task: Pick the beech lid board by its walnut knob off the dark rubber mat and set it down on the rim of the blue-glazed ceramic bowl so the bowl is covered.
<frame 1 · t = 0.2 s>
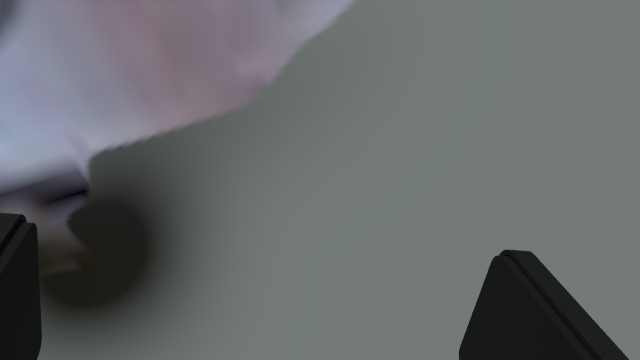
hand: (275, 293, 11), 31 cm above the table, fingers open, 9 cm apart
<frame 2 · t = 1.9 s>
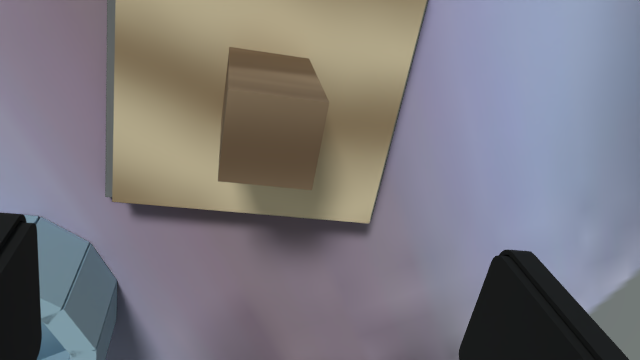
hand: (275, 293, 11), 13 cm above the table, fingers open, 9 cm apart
lid: (262, 81, 22), resting on mat
mat: (262, 78, 22), on the table
bowl: (16, 295, 25), on the table
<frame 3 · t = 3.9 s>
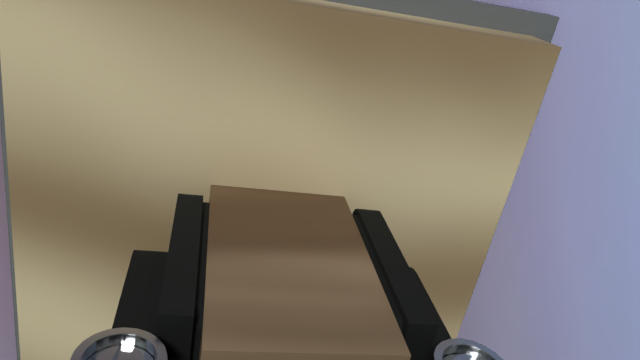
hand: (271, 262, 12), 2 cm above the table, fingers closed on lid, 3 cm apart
lid: (266, 221, 14), resting on mat, touching gripper
mat: (265, 213, 14), on the table
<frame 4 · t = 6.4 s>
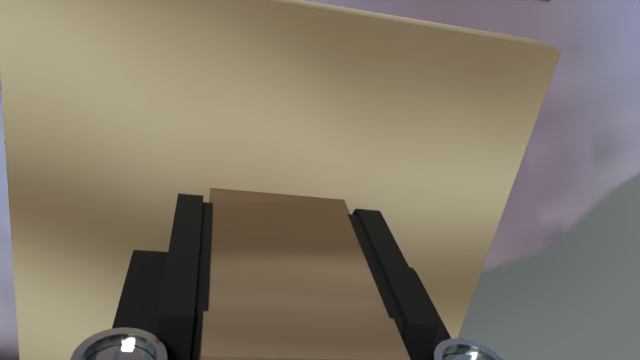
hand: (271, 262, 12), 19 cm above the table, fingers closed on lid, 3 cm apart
lid: (266, 224, 14), point 17 cm above the table, touching gripper
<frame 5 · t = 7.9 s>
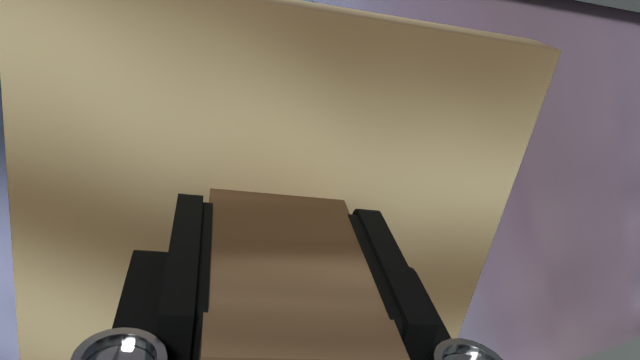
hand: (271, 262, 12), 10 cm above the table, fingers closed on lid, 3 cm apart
lid: (266, 224, 14), point 8 cm above the table, touching gripper
when the fingers open (7 cm above the table, at t = 9.1 s): lid drops 1 cm, resting on bowl.
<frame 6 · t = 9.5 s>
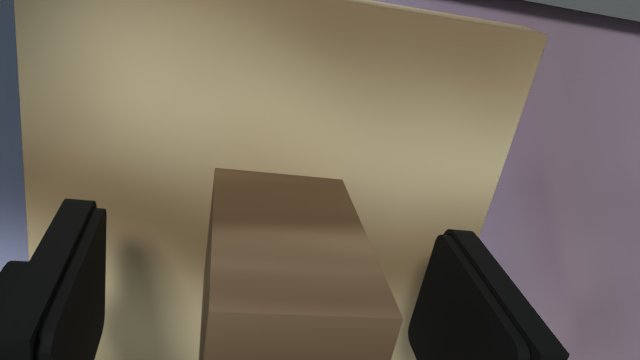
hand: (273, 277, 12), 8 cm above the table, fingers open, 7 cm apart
lid: (268, 205, 14), point 4 cm above the table, touching bowl
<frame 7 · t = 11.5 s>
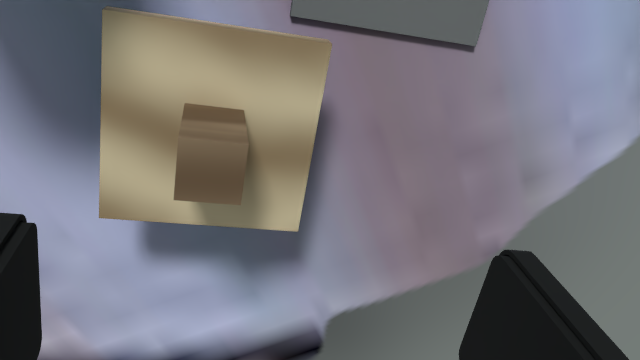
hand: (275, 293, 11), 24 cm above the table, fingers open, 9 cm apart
lid: (212, 126, 29), point 4 cm above the table, touching bowl
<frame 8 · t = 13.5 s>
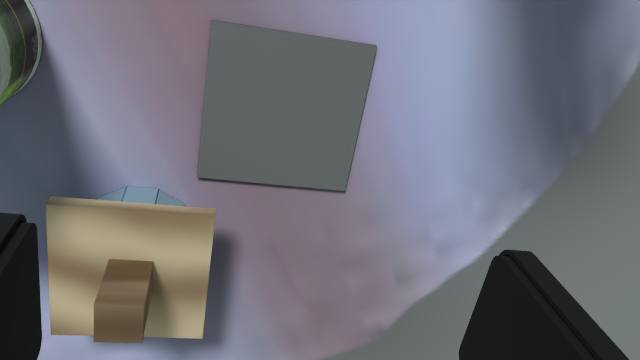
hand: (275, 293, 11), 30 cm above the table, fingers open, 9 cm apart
lid: (133, 267, 40), point 4 cm above the table, touching bowl
mat: (283, 112, 41), on the table
bowl: (140, 236, 44), on the table
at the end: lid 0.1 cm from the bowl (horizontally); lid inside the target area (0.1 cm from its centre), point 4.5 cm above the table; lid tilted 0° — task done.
